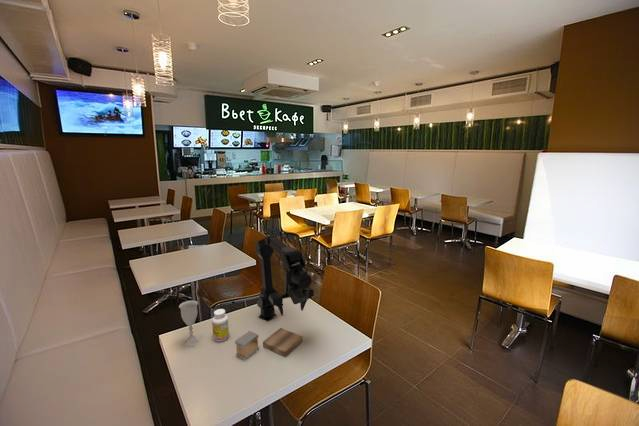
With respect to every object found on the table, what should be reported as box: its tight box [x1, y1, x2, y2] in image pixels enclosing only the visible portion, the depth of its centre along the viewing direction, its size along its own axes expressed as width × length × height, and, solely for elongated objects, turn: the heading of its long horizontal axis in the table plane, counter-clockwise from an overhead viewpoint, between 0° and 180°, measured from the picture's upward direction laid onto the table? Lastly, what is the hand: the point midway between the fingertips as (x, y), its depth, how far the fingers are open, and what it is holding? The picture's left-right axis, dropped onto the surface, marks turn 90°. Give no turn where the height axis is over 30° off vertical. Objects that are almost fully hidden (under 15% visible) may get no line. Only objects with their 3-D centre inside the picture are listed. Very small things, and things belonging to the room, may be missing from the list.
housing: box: [234, 330, 260, 361], centre depth 121 cm, size 5×8×7 cm, turn 149°
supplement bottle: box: [211, 308, 230, 343], centre depth 130 cm, size 7×7×13 cm
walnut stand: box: [262, 327, 303, 358], centre depth 127 cm, size 12×12×2 cm
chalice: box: [178, 300, 199, 347], centre depth 126 cm, size 7×7×18 cm
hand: (292, 312), depth 127 cm, fingers open, 9 cm apart
